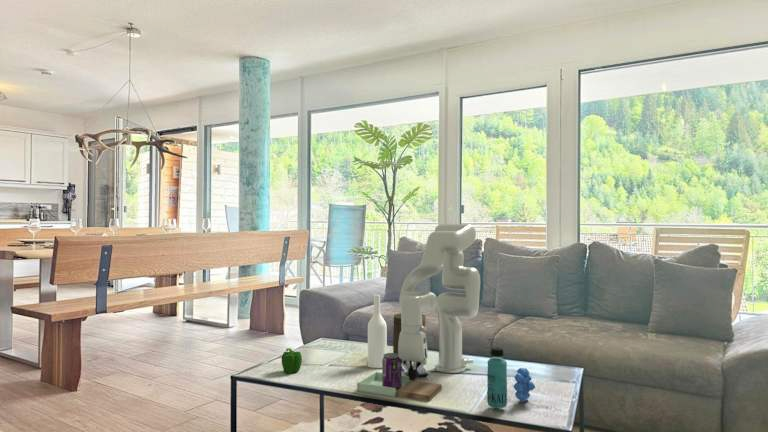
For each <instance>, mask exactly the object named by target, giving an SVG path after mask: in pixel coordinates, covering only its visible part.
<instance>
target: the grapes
mask: <svg viewBox="0 0 768 432" xmlns="http://www.w3.org/2000/svg"><path fill="white" fill-rule="evenodd" d="M513 378H514V379H515V381H516V382H515V383H514V385H513V388H514V390H515V391H516V392H515V393H514V396H515V397H516V399H517V400H519V401H520V402H521V403H525V402H526V401H527V400H528V399H529V398H530V397H531V394H530V391H533V390H534V389H535V388H536V386H535V383H533V381H532V376H531V375H530V371H529V369H527V368H526V367H519V368H518V369H517V371H516V374H515V375H514V377H513Z"/></svg>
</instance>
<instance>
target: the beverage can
mask: <svg viewBox="0 0 768 432" xmlns="http://www.w3.org/2000/svg"><path fill="white" fill-rule="evenodd" d="M402 366H403V363H402V362H401V360H400V358H399V357H398V354H397V353H393V352H388V353H387V354H384V358H383V360H382V368H381V370H382V371H381V373H382V386H385V387H392V388H396V389H399V388H400V387H402V375H403V370H402V369H403V368H402Z"/></svg>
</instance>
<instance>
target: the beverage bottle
mask: <svg viewBox="0 0 768 432" xmlns="http://www.w3.org/2000/svg"><path fill="white" fill-rule="evenodd" d="M490 355H491V356H492V357H491V358H489V359H488V360H487V375H486V376H487V390H486V397H487V398H486V401H487V405H488V407H490V408H494V409H495V408H496V409H503V408H506V407H507V405H508V380H507V379H508V378H507V377H508V376H507V375H508V365H507V364H508V363H507V361H506V360H505V359H504V358H503V357H504V349H503V348H502V347H492V348H491V349H490Z"/></svg>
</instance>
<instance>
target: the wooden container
mask: <svg viewBox="0 0 768 432" xmlns="http://www.w3.org/2000/svg"><path fill="white" fill-rule="evenodd" d="M426 322H427V321H426V315H425V314H423V313H422V324H423V326H424V327H426ZM401 331H402V327H401V312H399V313H397V314H393V331H392V332H393V333H392V334H393V335H392V339H393V340H392V346H393V347H392V348H393V349H392V353H397V354H398V343H399V336H400V332H401ZM422 332H424V333H425V336H426V330H425V331H422ZM426 337H427V336H426Z"/></svg>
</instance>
